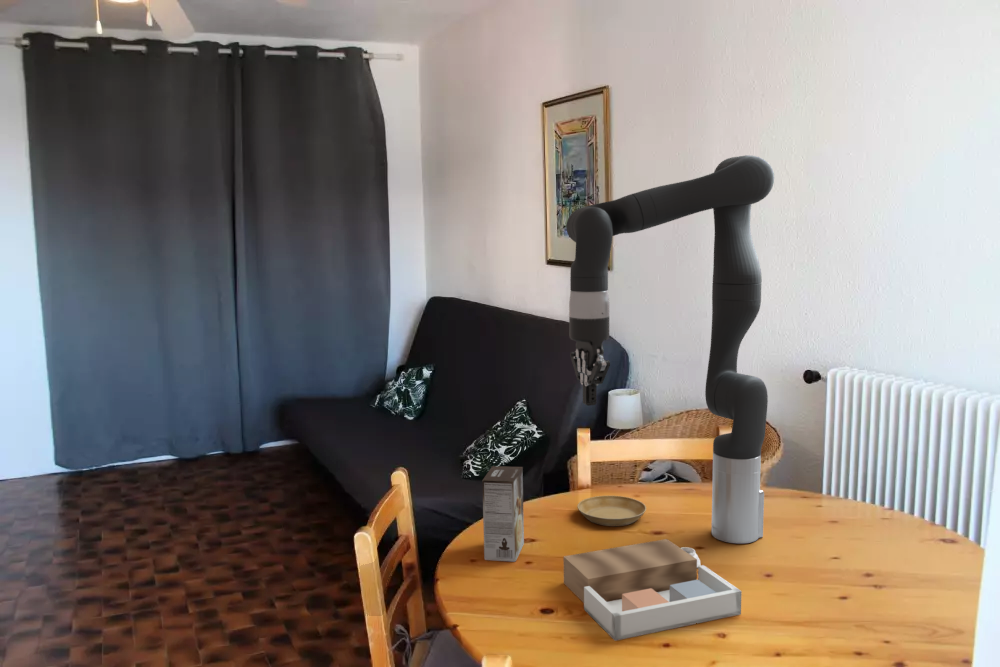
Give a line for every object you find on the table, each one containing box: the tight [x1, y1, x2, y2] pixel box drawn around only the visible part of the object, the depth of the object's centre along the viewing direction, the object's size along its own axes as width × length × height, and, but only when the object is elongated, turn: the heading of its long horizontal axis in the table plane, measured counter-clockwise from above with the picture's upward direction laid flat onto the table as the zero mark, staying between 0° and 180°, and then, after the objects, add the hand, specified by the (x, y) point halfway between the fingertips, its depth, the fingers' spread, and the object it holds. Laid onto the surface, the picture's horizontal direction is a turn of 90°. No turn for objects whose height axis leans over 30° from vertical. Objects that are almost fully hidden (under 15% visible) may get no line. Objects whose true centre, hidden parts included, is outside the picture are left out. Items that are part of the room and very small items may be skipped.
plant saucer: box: [577, 495, 647, 527], centre depth 182 cm, size 15×15×3 cm
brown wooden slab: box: [563, 538, 698, 604], centre depth 149 cm, size 21×10×5 cm, turn 110°
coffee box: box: [481, 465, 525, 563], centre depth 163 cm, size 9×6×16 cm
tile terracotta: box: [622, 588, 668, 611], centre depth 136 cm, size 6×6×3 cm
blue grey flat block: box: [669, 579, 716, 602], centre depth 139 cm, size 6×6×3 cm
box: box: [583, 564, 743, 641], centre depth 138 cm, size 23×11×4 cm, turn 110°
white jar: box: [680, 546, 701, 569], centre depth 157 cm, size 5×3×5 cm
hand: (589, 404), depth 161 cm, fingers closed
